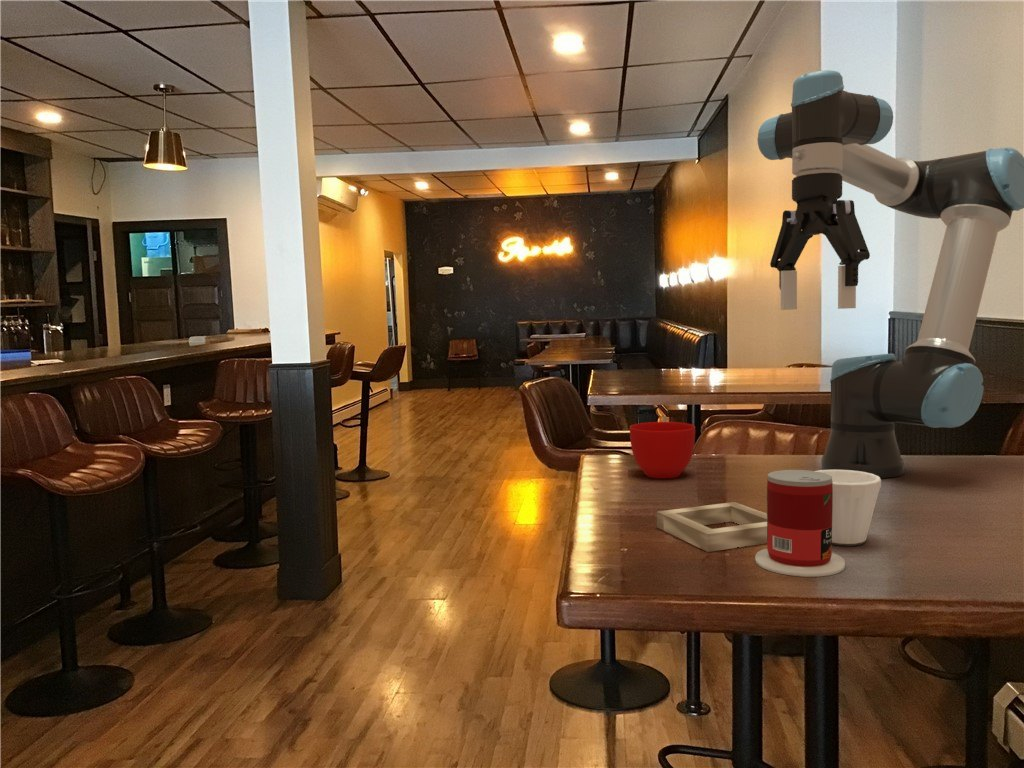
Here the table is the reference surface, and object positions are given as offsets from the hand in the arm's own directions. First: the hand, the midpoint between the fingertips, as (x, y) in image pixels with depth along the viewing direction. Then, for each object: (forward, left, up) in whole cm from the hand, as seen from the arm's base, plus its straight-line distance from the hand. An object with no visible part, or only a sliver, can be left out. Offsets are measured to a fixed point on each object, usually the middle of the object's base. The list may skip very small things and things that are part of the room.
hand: (816, 309), depth 130 cm
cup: (+9, +16, -33) cm, 38 cm away
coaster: (+21, +22, -33) cm, 45 cm away
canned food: (+21, +22, -32) cm, 44 cm away
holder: (+22, +6, -33) cm, 40 cm away
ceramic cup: (+7, -36, -33) cm, 49 cm away
